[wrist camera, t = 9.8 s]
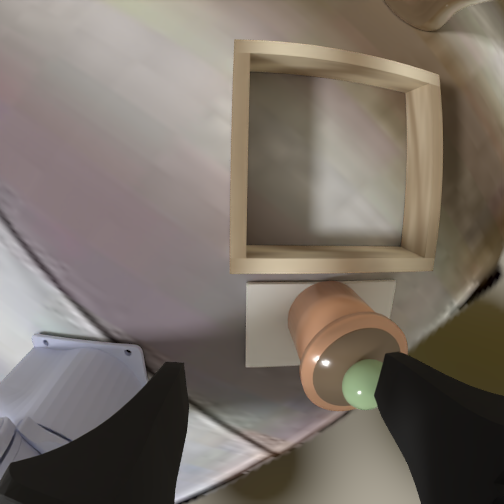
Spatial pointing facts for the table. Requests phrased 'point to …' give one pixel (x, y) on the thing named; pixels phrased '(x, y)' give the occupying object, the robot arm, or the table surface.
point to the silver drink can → (429, 11)
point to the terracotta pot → (340, 345)
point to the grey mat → (276, 314)
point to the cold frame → (417, 172)
